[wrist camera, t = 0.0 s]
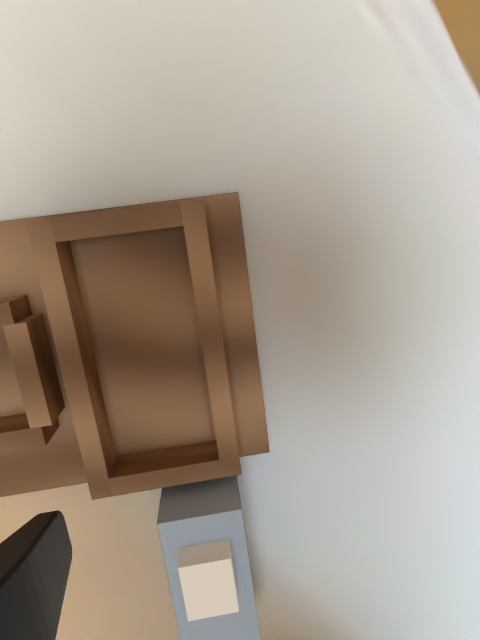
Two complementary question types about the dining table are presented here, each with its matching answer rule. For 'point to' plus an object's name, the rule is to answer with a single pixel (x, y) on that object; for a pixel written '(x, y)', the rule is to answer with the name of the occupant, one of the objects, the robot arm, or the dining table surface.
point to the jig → (127, 348)
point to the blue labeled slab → (208, 560)
